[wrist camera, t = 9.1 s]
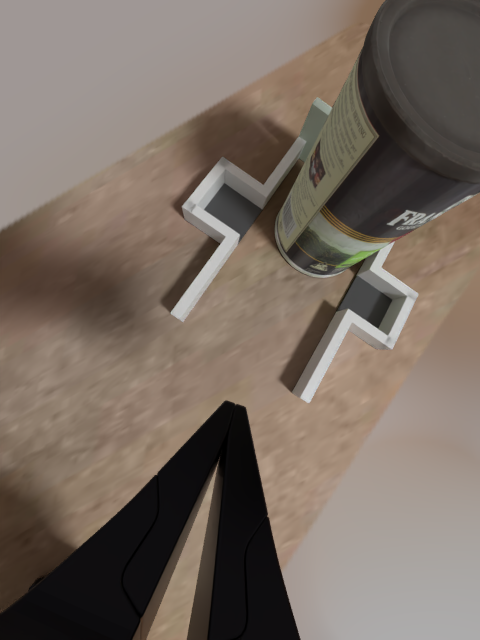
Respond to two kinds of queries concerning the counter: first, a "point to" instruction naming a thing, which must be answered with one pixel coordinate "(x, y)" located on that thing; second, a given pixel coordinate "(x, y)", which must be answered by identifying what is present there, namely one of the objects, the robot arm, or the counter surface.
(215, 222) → the trap channel
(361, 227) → the coffee can
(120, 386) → the counter surface
